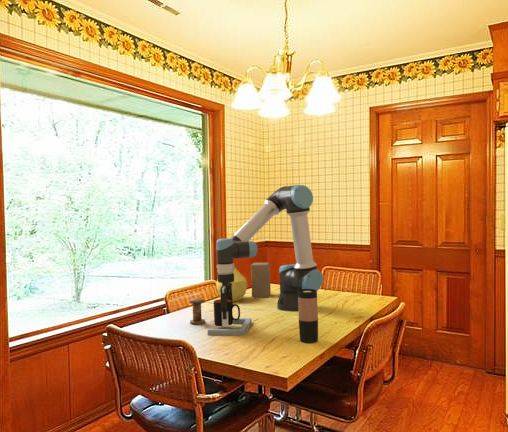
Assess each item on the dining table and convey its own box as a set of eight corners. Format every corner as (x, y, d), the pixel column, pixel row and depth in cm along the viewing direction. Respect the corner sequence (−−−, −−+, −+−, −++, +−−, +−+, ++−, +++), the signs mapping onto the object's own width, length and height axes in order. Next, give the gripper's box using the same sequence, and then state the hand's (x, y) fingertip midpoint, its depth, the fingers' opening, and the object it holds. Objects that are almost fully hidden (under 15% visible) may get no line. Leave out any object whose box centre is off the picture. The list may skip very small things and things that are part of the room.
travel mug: (297, 338, 170) (296, 289, 170) (316, 337, 171) (314, 288, 171) (301, 344, 163) (299, 292, 162) (320, 343, 163) (319, 291, 163)
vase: (253, 298, 250) (252, 248, 250) (236, 304, 235) (234, 251, 235) (228, 295, 260) (227, 247, 260) (210, 301, 245) (208, 250, 244)
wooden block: (268, 297, 250) (267, 264, 250) (251, 297, 252) (250, 264, 252) (270, 294, 260) (269, 262, 260) (255, 294, 262) (254, 262, 262)
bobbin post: (206, 320, 202) (205, 298, 202) (202, 324, 195) (201, 301, 195) (192, 320, 203) (191, 298, 203) (188, 324, 196) (187, 301, 196)
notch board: (251, 322, 196) (251, 318, 196) (244, 335, 177) (244, 330, 177) (218, 322, 199) (218, 318, 199) (207, 334, 179) (207, 330, 179)
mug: (238, 326, 182) (237, 303, 182) (211, 326, 185) (210, 302, 185) (242, 321, 190) (242, 299, 190) (217, 321, 193) (216, 298, 193)
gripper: (222, 269, 198) (224, 317, 199) (211, 276, 178) (213, 330, 178) (238, 269, 197) (239, 317, 198) (229, 276, 177) (231, 330, 177)
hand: (227, 323), depth 188 cm, fingers closed on mug, 8 cm apart
